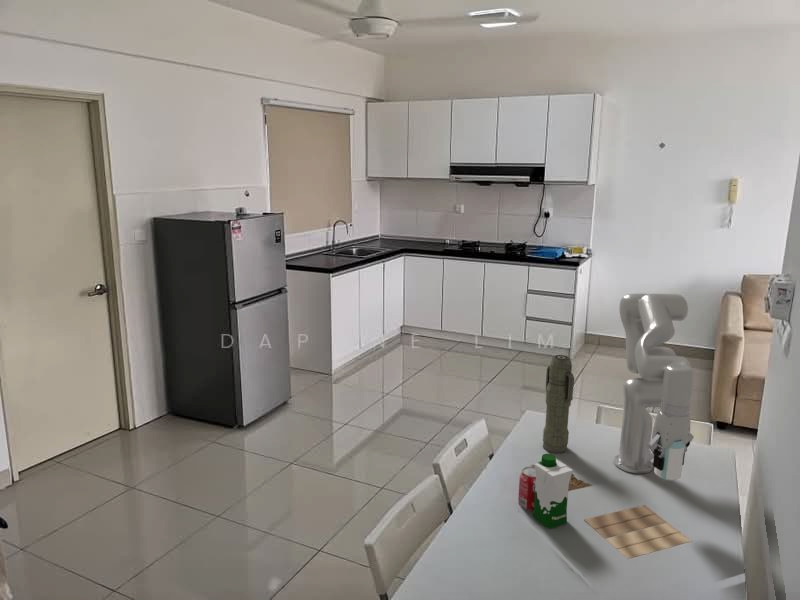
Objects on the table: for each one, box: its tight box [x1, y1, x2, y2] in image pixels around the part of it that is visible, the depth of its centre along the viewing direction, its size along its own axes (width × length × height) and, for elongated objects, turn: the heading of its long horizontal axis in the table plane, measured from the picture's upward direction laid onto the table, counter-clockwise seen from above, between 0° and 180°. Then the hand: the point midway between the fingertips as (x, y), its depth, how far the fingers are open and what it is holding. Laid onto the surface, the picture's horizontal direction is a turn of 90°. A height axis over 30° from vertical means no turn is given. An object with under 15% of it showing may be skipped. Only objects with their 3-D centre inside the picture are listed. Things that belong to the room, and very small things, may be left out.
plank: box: [583, 504, 667, 539], centre depth 176 cm, size 22×9×1 cm, turn 111°
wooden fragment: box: [530, 464, 594, 492], centre depth 200 cm, size 26×11×1 cm, turn 34°
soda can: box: [517, 466, 536, 511], centre depth 183 cm, size 7×7×12 cm
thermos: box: [542, 354, 575, 454], centre depth 218 cm, size 9×12×35 cm
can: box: [653, 440, 685, 482], centre depth 174 cm, size 7×7×12 cm
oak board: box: [605, 522, 693, 560], centre depth 168 cm, size 22×9×1 cm, turn 111°
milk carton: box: [532, 453, 574, 530], centre depth 175 cm, size 9×9×20 cm
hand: (668, 465), depth 174 cm, fingers closed on can, 7 cm apart
